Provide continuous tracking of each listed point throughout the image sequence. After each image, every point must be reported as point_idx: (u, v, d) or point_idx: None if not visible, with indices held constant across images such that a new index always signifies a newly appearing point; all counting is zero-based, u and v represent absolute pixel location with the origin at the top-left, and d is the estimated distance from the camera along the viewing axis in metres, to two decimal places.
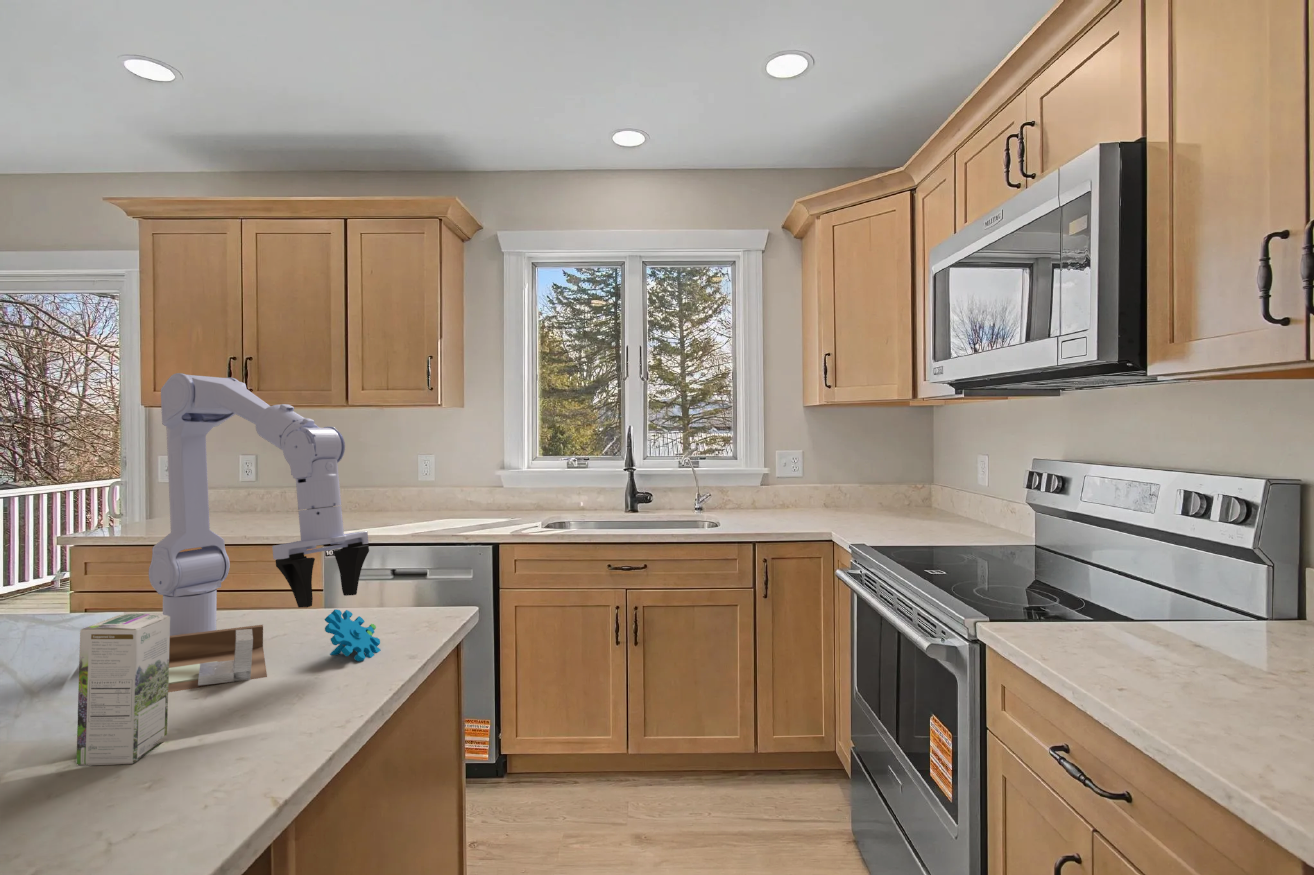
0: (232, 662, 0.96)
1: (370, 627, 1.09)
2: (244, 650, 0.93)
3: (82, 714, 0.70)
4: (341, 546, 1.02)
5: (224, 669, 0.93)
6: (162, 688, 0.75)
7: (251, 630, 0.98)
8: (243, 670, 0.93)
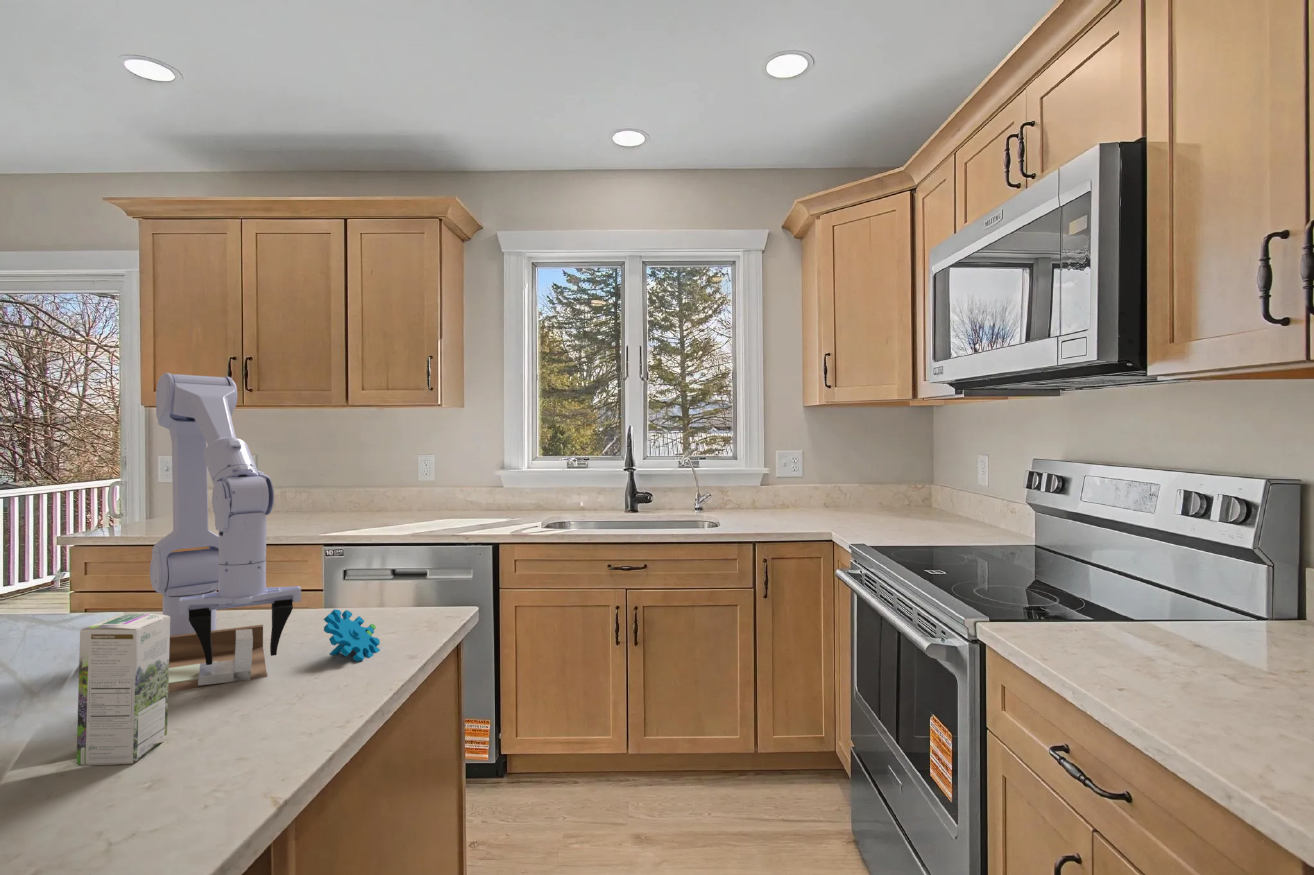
0: (232, 662, 0.96)
1: (370, 627, 1.09)
2: (244, 650, 0.93)
3: (82, 714, 0.70)
4: (265, 602, 0.96)
5: (224, 669, 0.93)
6: (162, 688, 0.75)
7: (251, 630, 0.98)
8: (243, 670, 0.93)
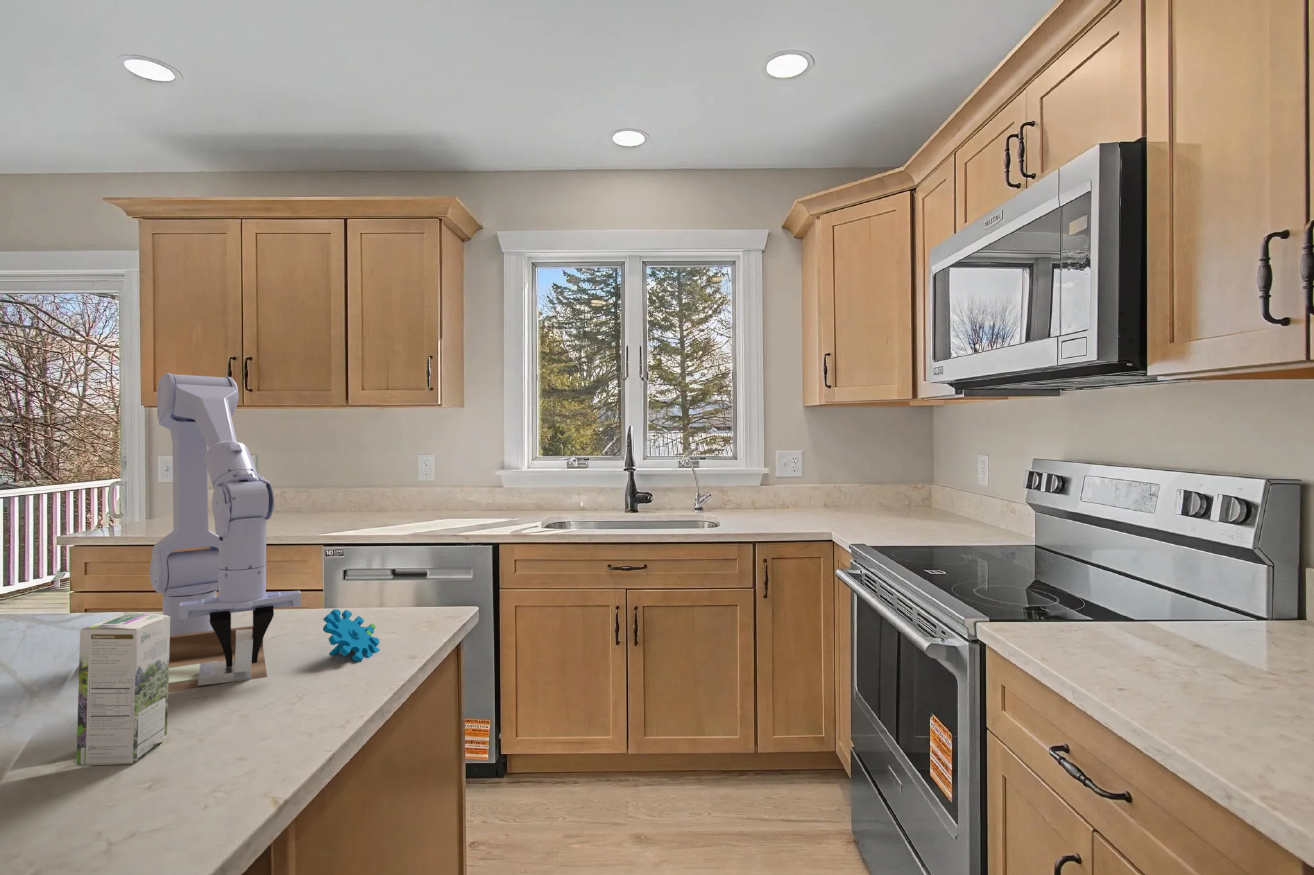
0: (232, 662, 0.96)
1: (370, 627, 1.09)
2: (244, 650, 0.93)
3: (82, 714, 0.70)
4: None
5: (224, 669, 0.93)
6: (162, 688, 0.75)
7: (251, 630, 0.98)
8: (243, 670, 0.93)
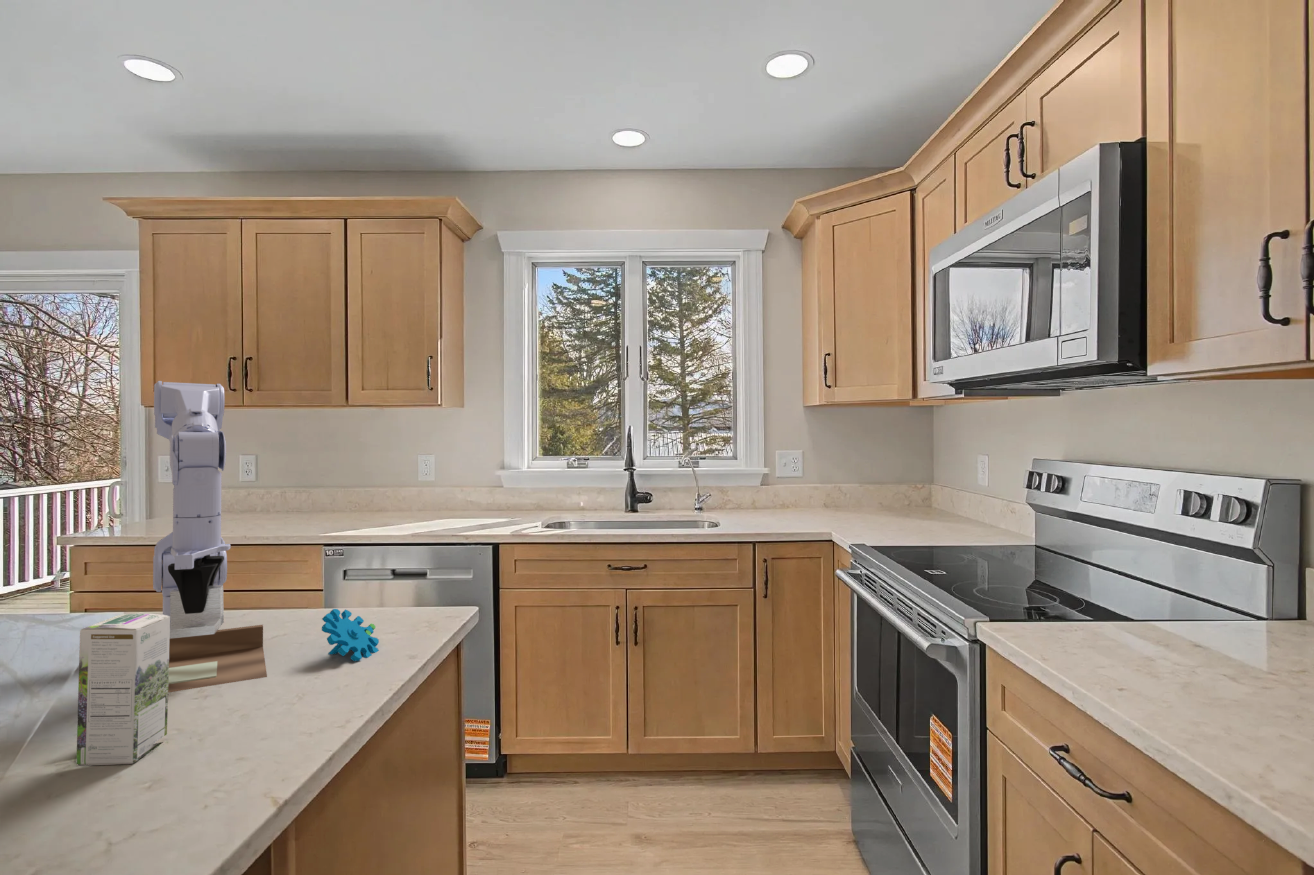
0: (179, 621, 0.95)
1: (369, 627, 1.09)
2: (221, 595, 0.98)
3: (82, 714, 0.70)
4: None
5: (202, 621, 0.95)
6: (162, 688, 0.75)
7: None
8: (222, 614, 0.98)
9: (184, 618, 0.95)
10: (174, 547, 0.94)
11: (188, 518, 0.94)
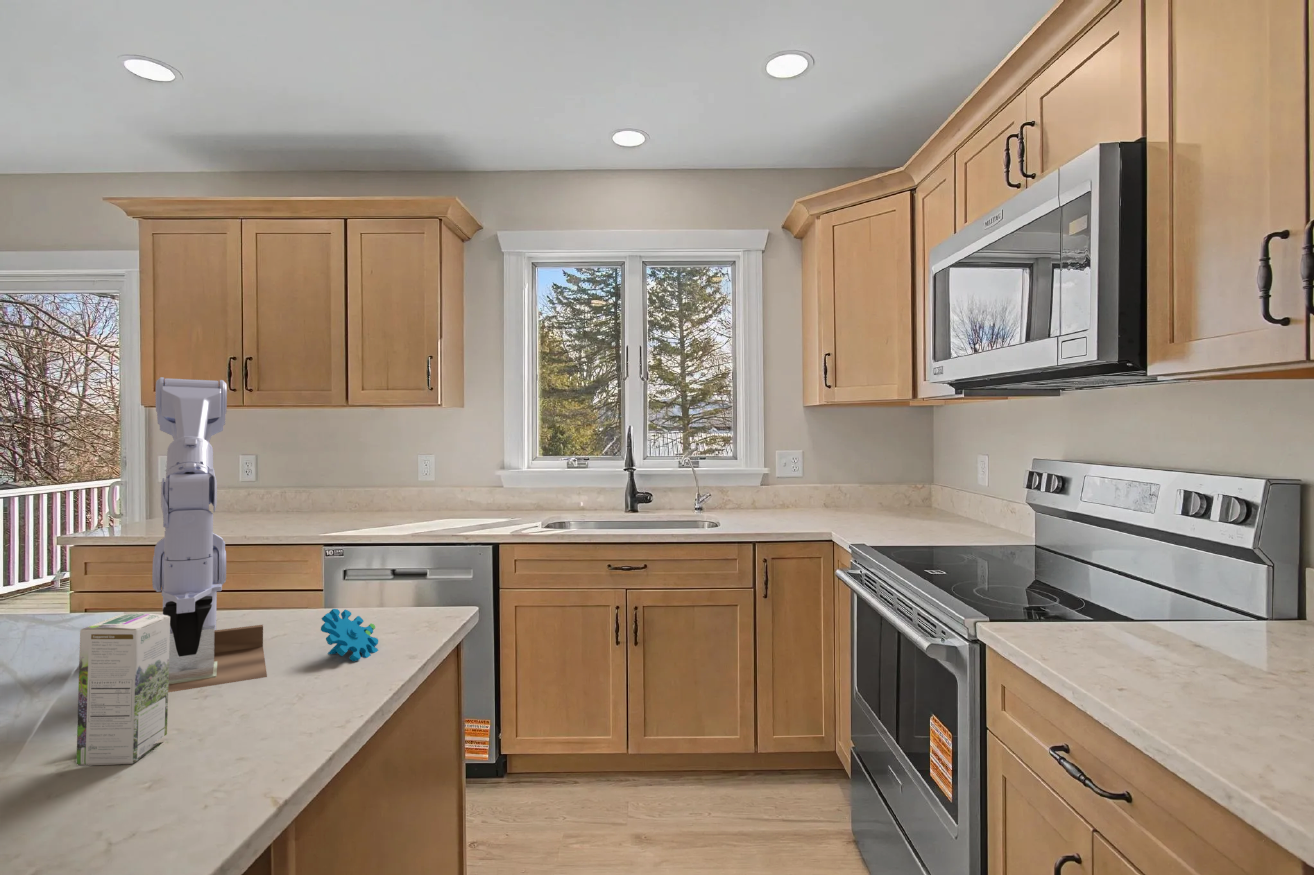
0: (172, 664, 0.95)
1: (369, 627, 1.09)
2: None
3: (82, 714, 0.70)
4: None
5: (197, 662, 0.96)
6: (162, 688, 0.75)
7: None
8: None
9: (177, 660, 0.95)
10: (167, 590, 0.94)
11: (183, 561, 0.94)
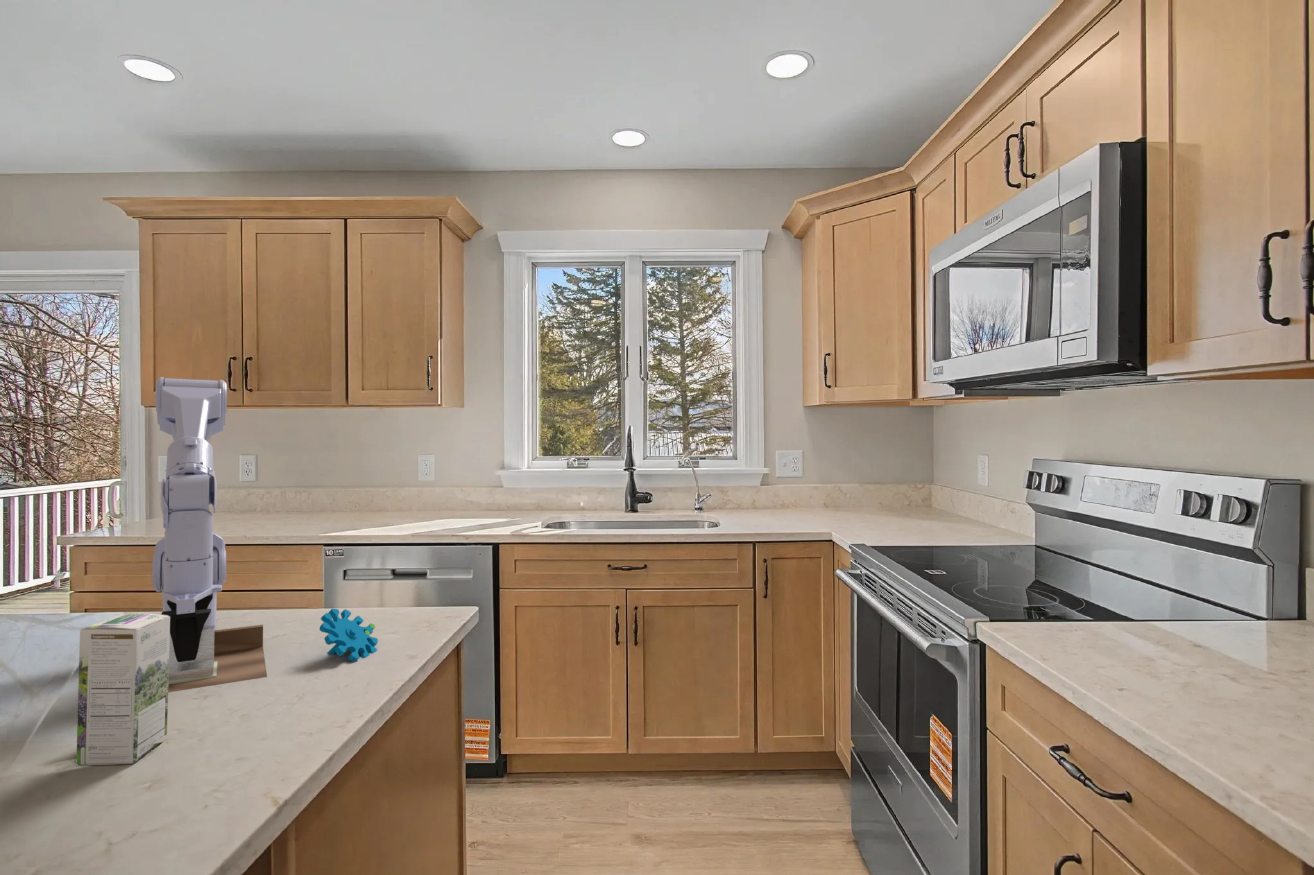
0: (172, 664, 0.95)
1: (369, 627, 1.09)
2: None
3: (82, 714, 0.70)
4: None
5: (197, 662, 0.96)
6: (162, 688, 0.75)
7: None
8: None
9: None
10: (167, 591, 0.94)
11: (183, 561, 0.94)
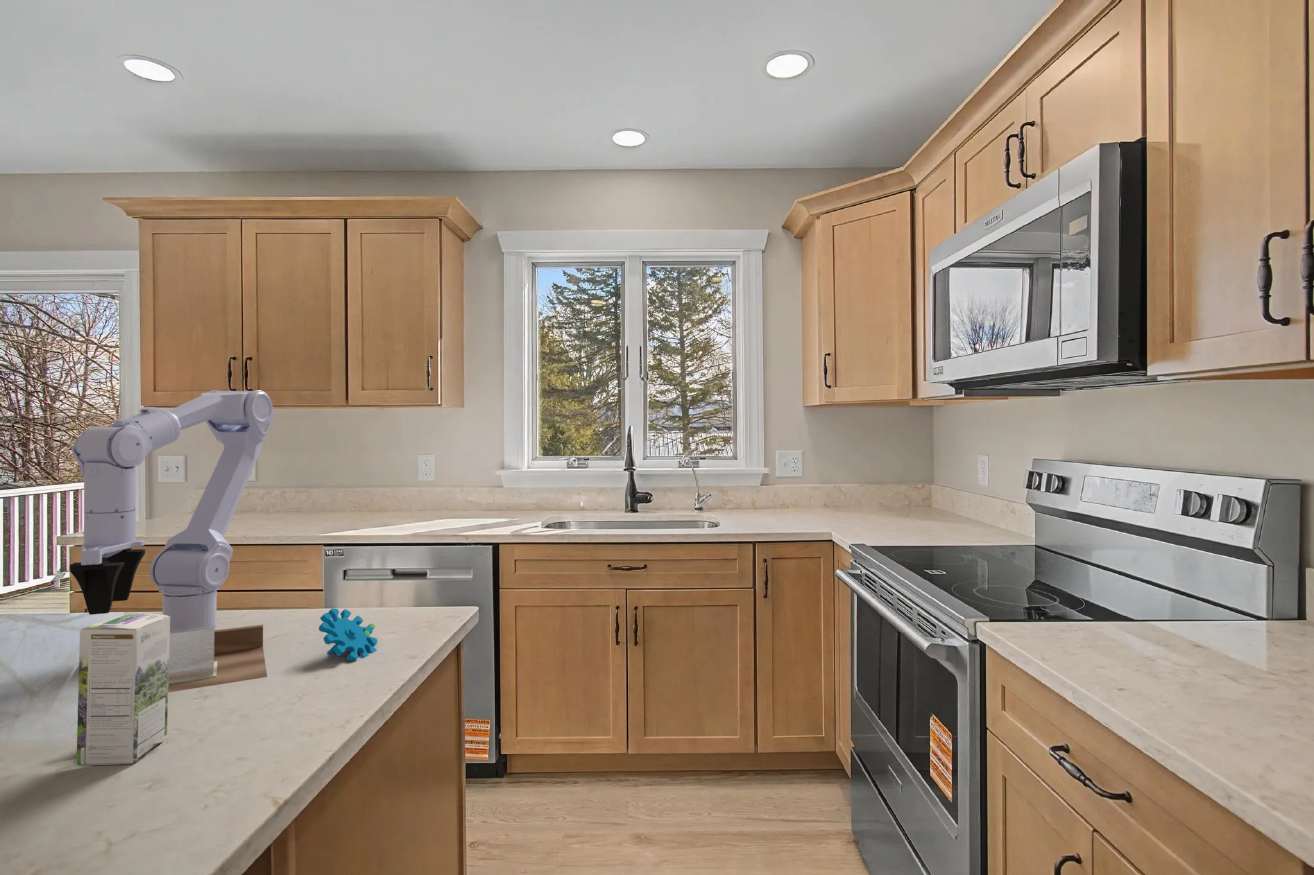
0: (172, 664, 0.95)
1: (368, 627, 1.09)
2: None
3: (82, 714, 0.70)
4: (119, 550, 0.99)
5: (197, 662, 0.96)
6: (162, 688, 0.75)
7: (172, 630, 0.97)
8: None
9: (177, 660, 0.95)
10: (84, 543, 0.94)
11: (98, 513, 0.93)
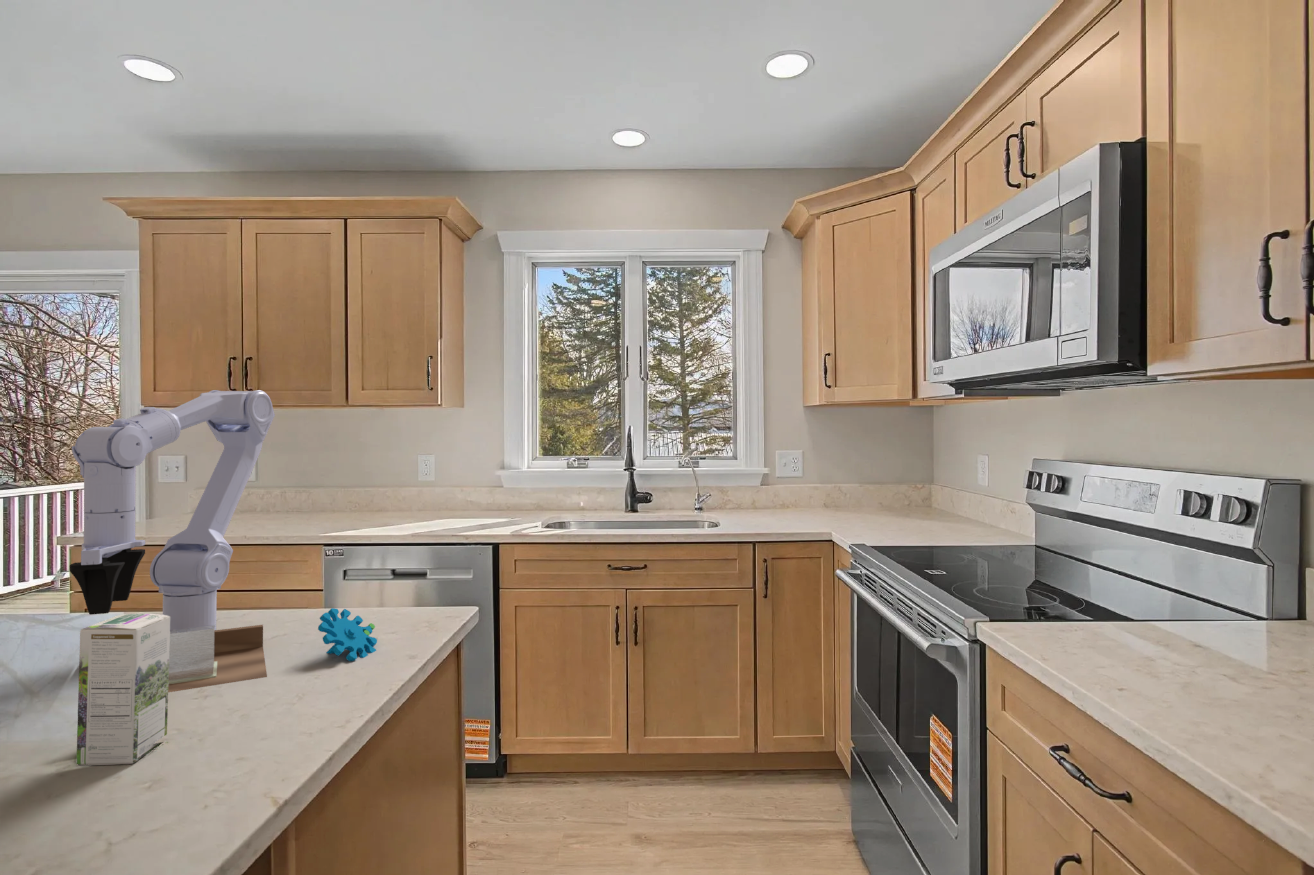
0: (172, 664, 0.95)
1: (368, 627, 1.09)
2: None
3: (82, 714, 0.70)
4: (119, 550, 0.99)
5: (197, 662, 0.96)
6: (162, 688, 0.75)
7: (172, 630, 0.97)
8: None
9: (177, 660, 0.95)
10: (84, 543, 0.94)
11: (98, 513, 0.93)
